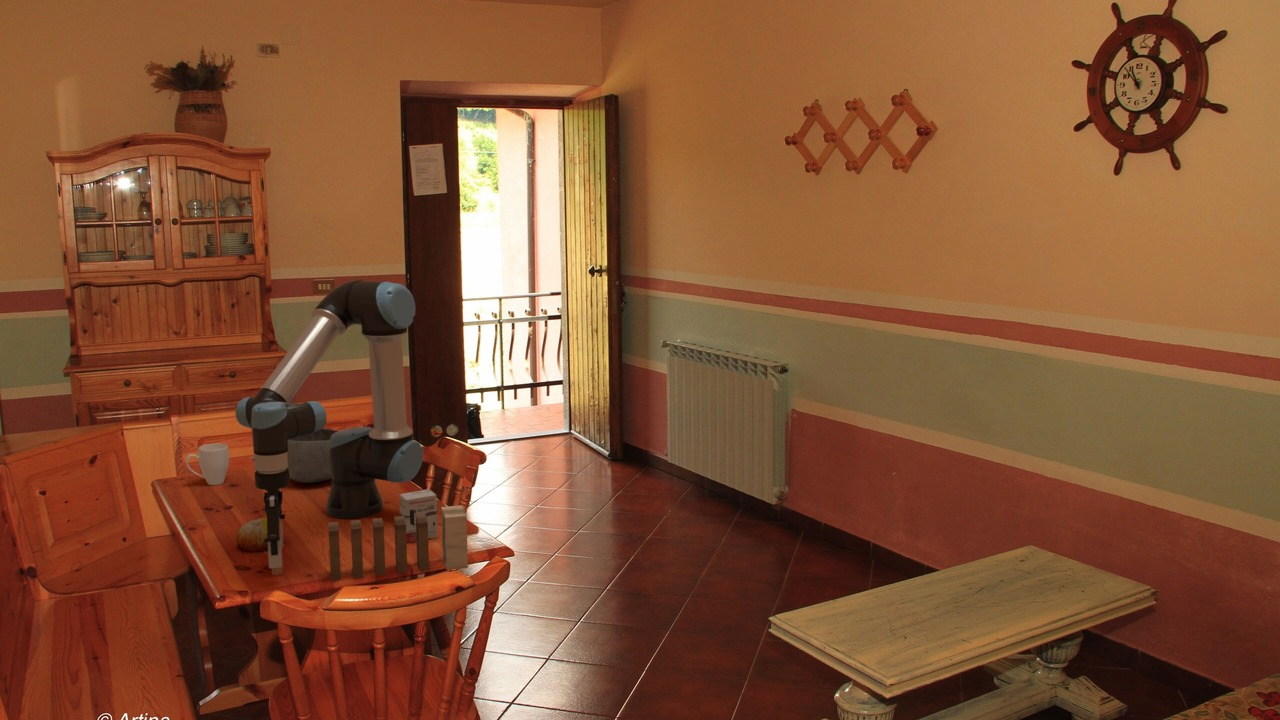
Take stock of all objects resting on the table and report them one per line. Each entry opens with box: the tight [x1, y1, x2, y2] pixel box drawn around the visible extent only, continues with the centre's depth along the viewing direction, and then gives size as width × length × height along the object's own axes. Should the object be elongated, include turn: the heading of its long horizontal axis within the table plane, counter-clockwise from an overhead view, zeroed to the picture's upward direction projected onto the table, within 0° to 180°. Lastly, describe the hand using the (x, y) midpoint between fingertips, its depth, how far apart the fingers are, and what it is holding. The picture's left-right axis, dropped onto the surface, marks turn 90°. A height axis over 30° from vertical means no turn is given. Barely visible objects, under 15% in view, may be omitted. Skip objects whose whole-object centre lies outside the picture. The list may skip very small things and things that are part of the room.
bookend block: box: [440, 504, 469, 571], centre depth 238 cm, size 8×5×13 cm, turn 18°
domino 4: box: [372, 517, 387, 577], centre depth 233 cm, size 6×2×12 cm, turn 18°
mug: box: [185, 442, 230, 486], centre depth 298 cm, size 12×8×11 cm
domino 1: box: [270, 517, 284, 576], centre depth 232 cm, size 6×2×12 cm, turn 18°
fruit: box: [235, 516, 268, 553], centre depth 249 cm, size 11×10×8 cm
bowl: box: [287, 427, 339, 484], centre depth 302 cm, size 20×20×15 cm
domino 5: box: [393, 515, 408, 575], centre depth 234 cm, size 6×2×12 cm, turn 18°
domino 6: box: [415, 514, 430, 572], centre depth 236 cm, size 6×2×12 cm, turn 18°
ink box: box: [399, 488, 438, 543], centre depth 255 cm, size 8×5×12 cm, turn 123°
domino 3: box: [350, 519, 364, 579], centre depth 231 cm, size 6×2×12 cm, turn 18°
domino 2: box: [328, 521, 342, 582], centre depth 230 cm, size 6×2×12 cm, turn 18°
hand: (276, 556), depth 233 cm, fingers open, 13 cm apart
